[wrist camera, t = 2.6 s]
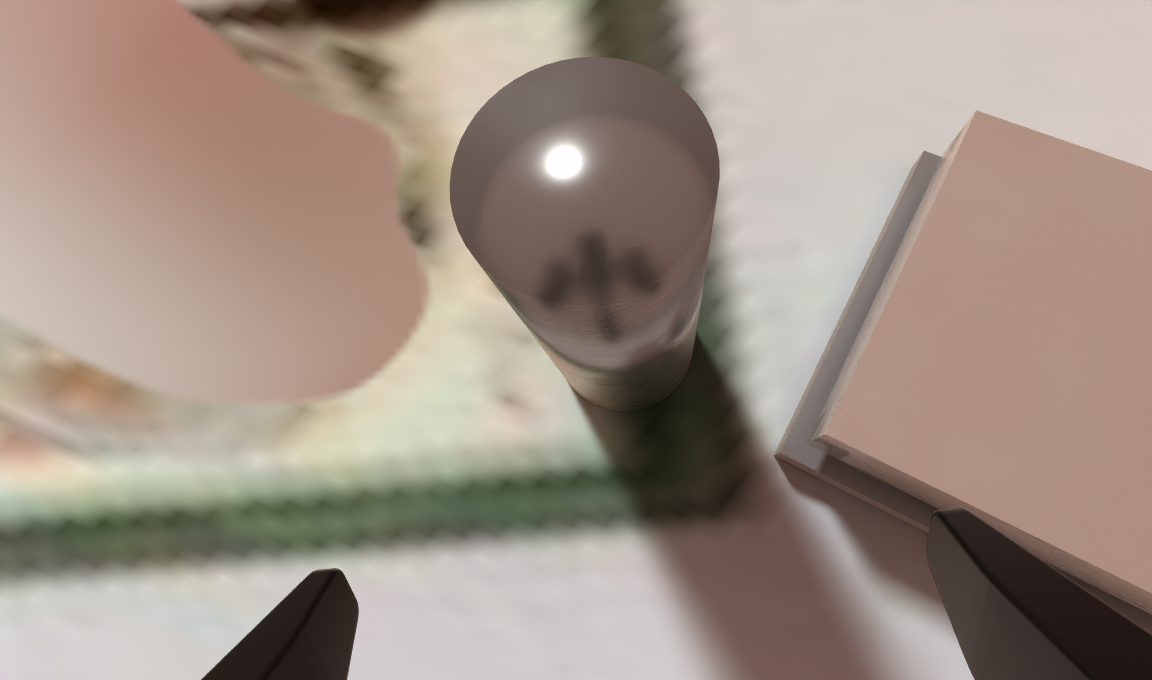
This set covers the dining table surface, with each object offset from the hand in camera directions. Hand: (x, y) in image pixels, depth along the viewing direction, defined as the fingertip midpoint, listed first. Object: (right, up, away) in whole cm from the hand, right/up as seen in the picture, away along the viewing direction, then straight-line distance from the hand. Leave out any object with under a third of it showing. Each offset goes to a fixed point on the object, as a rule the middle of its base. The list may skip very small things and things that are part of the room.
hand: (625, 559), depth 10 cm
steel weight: (+1, +3, +14) cm, 14 cm away
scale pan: (+14, +3, +10) cm, 17 cm away
